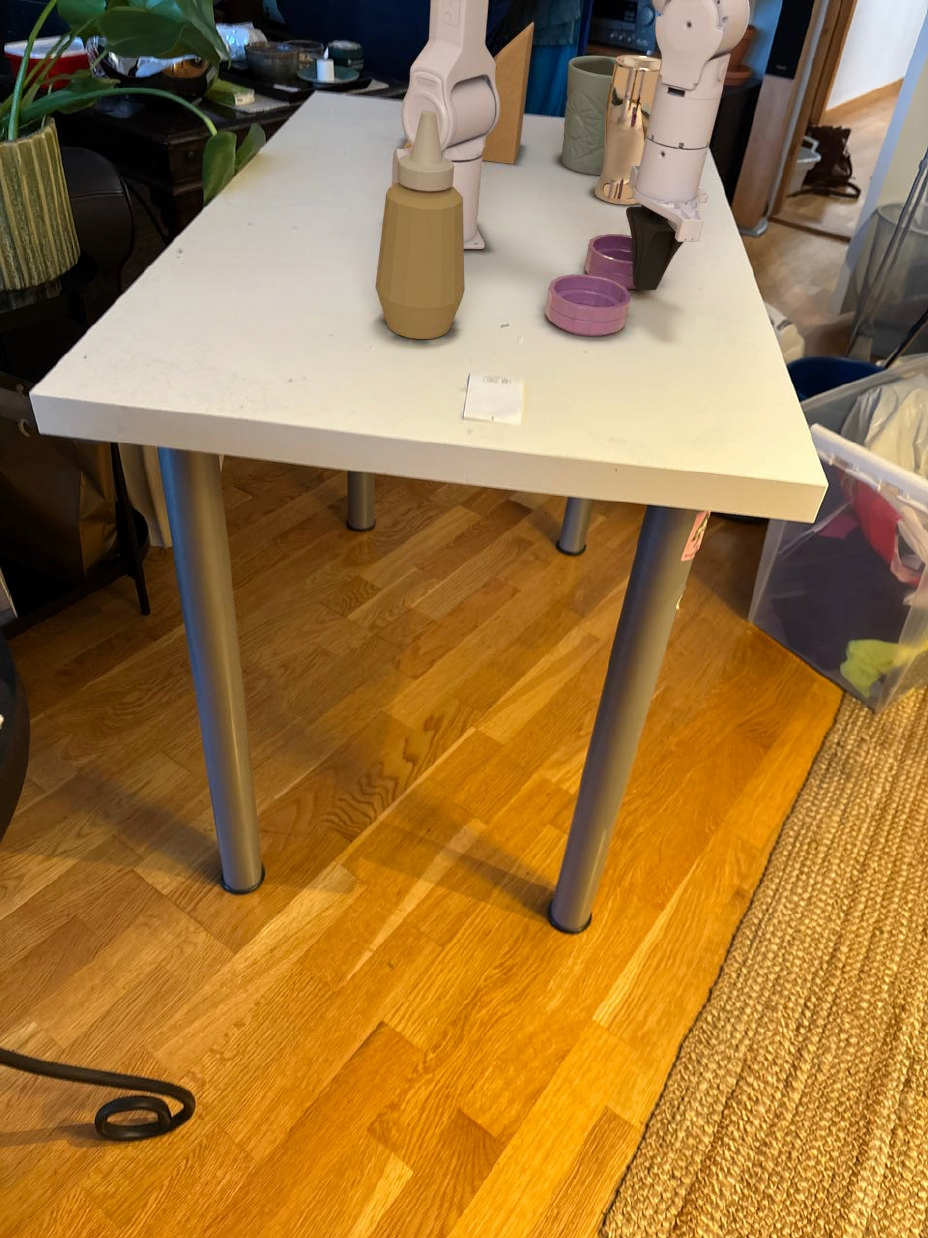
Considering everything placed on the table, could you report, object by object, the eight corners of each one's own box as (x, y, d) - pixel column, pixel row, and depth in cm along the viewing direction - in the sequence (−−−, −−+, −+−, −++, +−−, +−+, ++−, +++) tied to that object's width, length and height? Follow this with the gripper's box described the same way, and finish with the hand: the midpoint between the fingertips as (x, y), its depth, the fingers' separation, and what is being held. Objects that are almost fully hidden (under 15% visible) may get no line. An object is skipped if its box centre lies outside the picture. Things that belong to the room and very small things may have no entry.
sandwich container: (413, 131, 129) (418, 6, 119) (520, 145, 128) (534, 20, 118) (401, 149, 123) (405, 18, 112) (513, 164, 122) (528, 34, 112)
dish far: (595, 291, 94) (601, 263, 92) (575, 261, 99) (580, 233, 97) (666, 291, 95) (673, 263, 93) (643, 261, 101) (649, 234, 99)
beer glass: (643, 209, 113) (672, 72, 103) (588, 200, 114) (611, 63, 103) (646, 191, 118) (674, 59, 108) (593, 183, 119) (616, 51, 108)
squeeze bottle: (414, 300, 89) (423, 93, 76) (479, 328, 85) (499, 116, 73) (356, 324, 84) (356, 108, 72) (422, 355, 80) (433, 134, 68)
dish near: (556, 340, 85) (561, 309, 83) (536, 303, 90) (540, 273, 88) (635, 339, 86) (641, 309, 84) (610, 303, 92) (616, 274, 90)
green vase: (627, 158, 128) (646, 60, 120) (629, 181, 120) (649, 79, 112) (556, 149, 128) (569, 51, 120) (553, 172, 121) (568, 69, 113)
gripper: (750, 167, 77) (708, 319, 87) (690, 117, 88) (658, 258, 97) (673, 165, 76) (638, 319, 85) (620, 114, 86) (595, 257, 96)
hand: (644, 287), depth 91 cm, fingers closed
